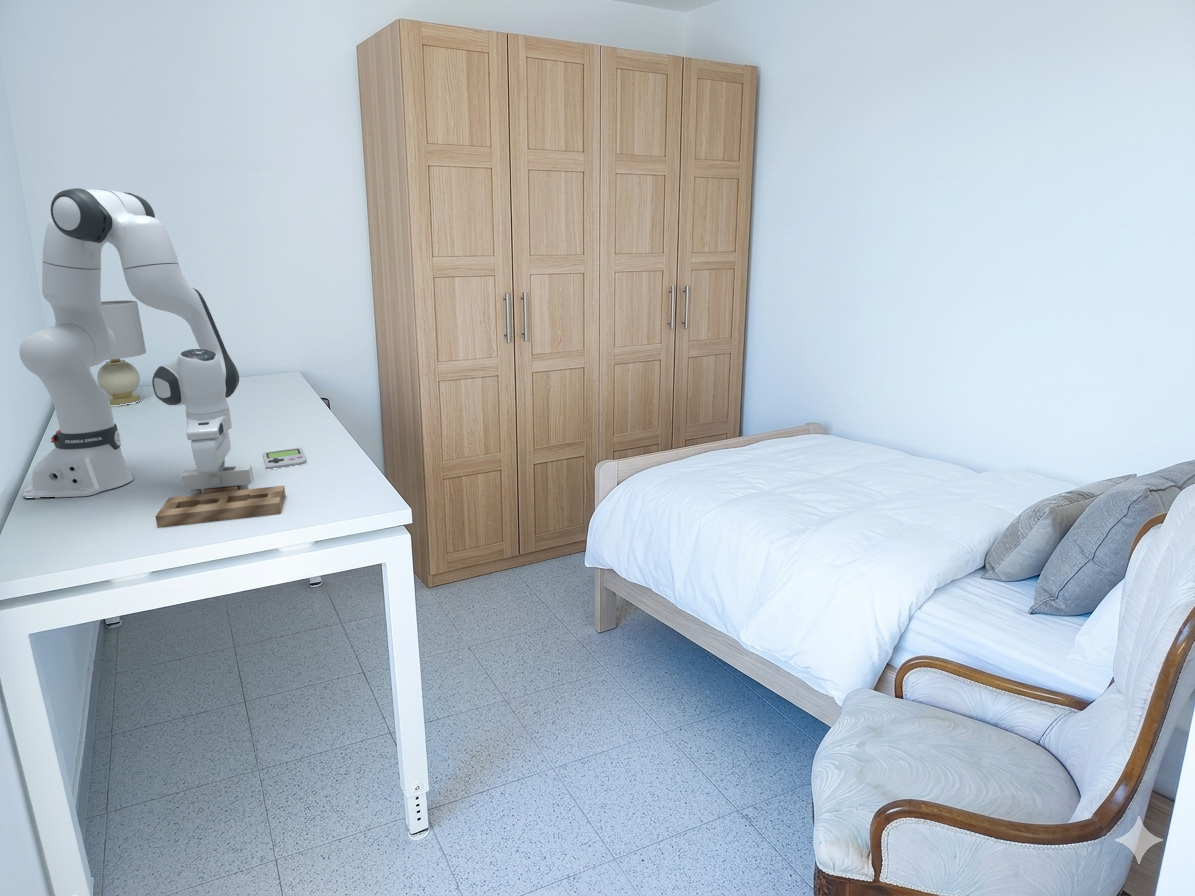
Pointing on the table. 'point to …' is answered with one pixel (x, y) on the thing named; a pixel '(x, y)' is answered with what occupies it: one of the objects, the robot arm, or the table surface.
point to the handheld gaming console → (284, 458)
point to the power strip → (228, 478)
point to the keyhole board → (221, 506)
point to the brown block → (220, 489)
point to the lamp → (122, 351)
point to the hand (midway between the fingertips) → (219, 480)
